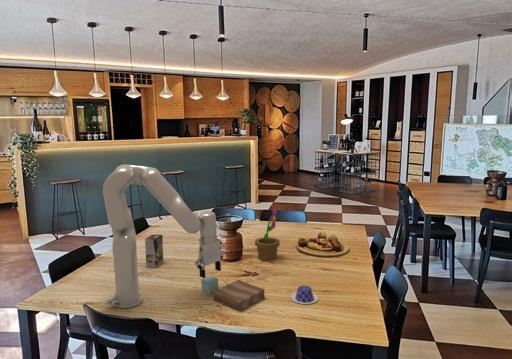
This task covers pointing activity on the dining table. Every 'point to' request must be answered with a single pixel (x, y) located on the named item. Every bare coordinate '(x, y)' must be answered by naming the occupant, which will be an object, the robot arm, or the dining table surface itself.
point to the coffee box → (154, 251)
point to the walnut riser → (238, 295)
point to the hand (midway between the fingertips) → (210, 273)
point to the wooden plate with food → (322, 246)
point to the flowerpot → (268, 243)
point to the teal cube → (209, 284)
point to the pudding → (304, 295)
